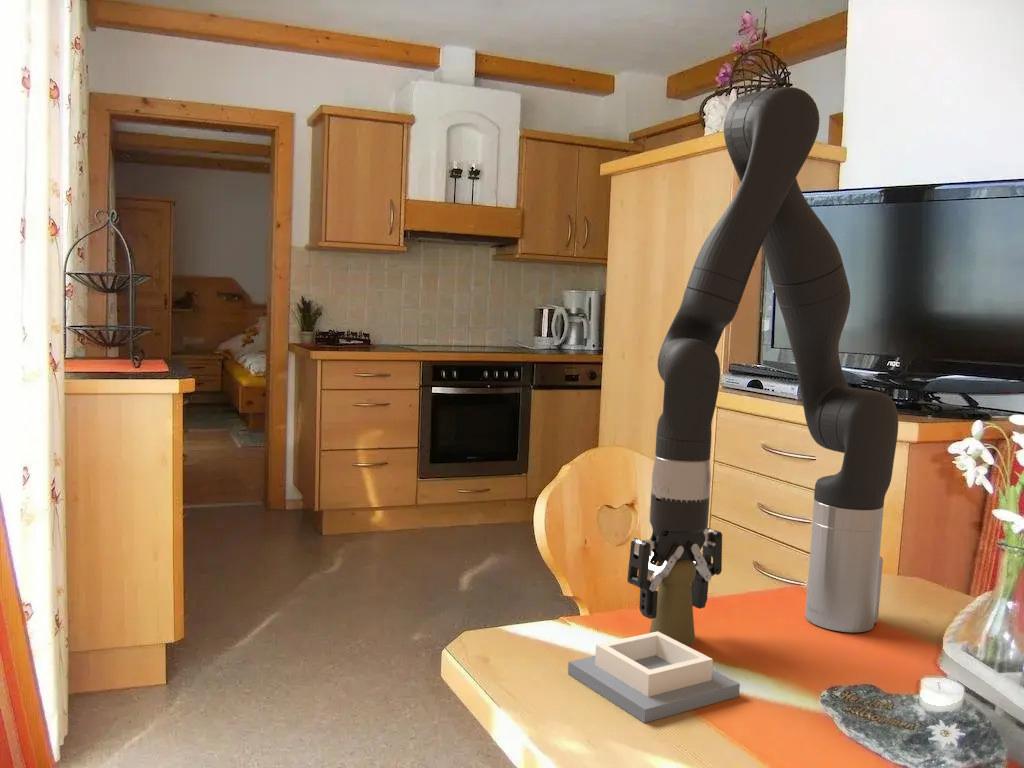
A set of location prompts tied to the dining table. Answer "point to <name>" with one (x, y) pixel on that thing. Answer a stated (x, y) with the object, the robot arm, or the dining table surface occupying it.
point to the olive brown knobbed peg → (676, 604)
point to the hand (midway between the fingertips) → (673, 611)
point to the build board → (653, 676)
